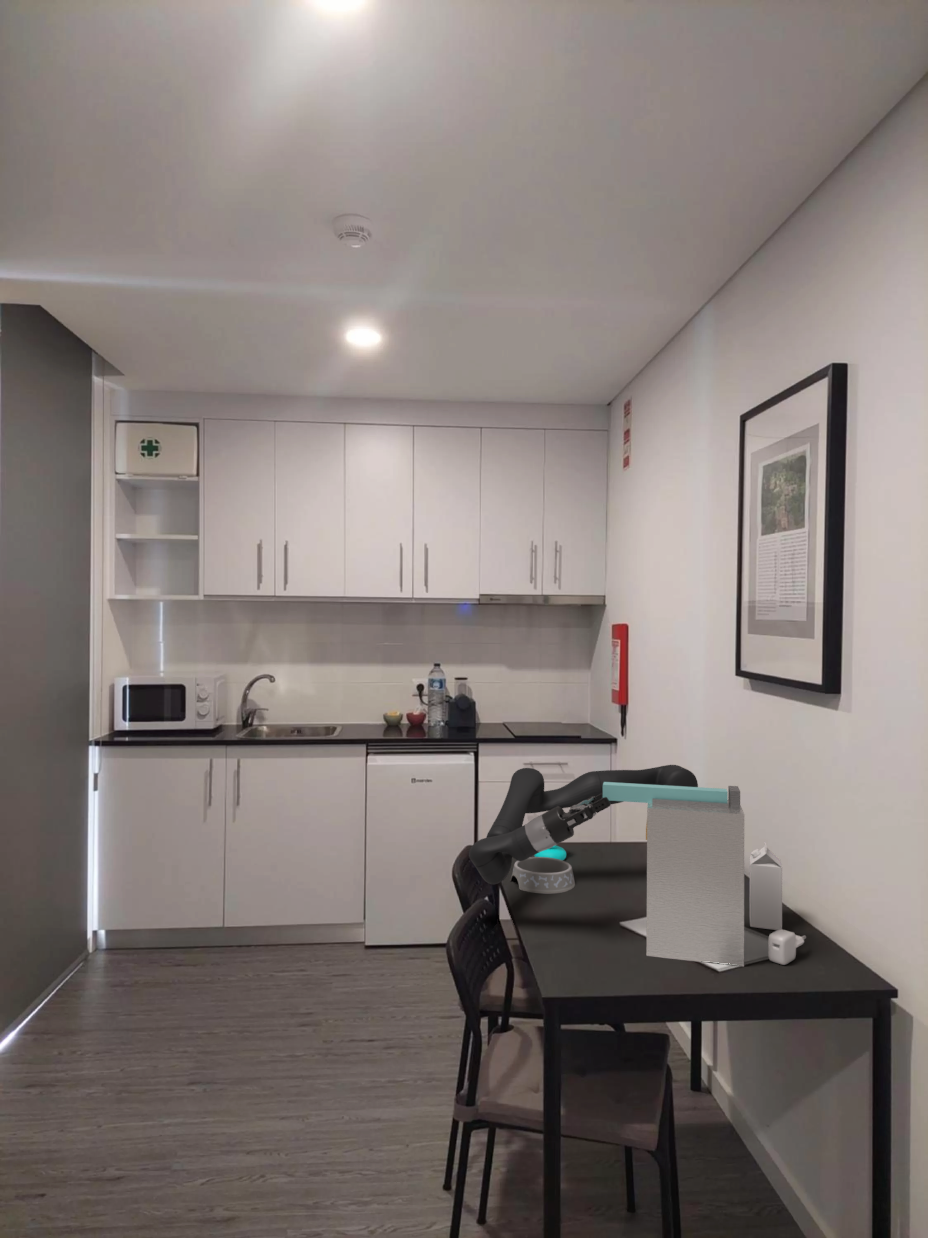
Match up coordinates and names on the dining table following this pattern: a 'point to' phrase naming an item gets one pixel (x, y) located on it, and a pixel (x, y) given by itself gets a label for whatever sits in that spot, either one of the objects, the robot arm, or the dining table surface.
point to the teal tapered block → (661, 793)
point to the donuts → (553, 853)
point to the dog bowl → (543, 875)
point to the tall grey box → (696, 879)
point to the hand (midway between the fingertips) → (610, 797)
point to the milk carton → (765, 890)
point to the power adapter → (783, 946)
